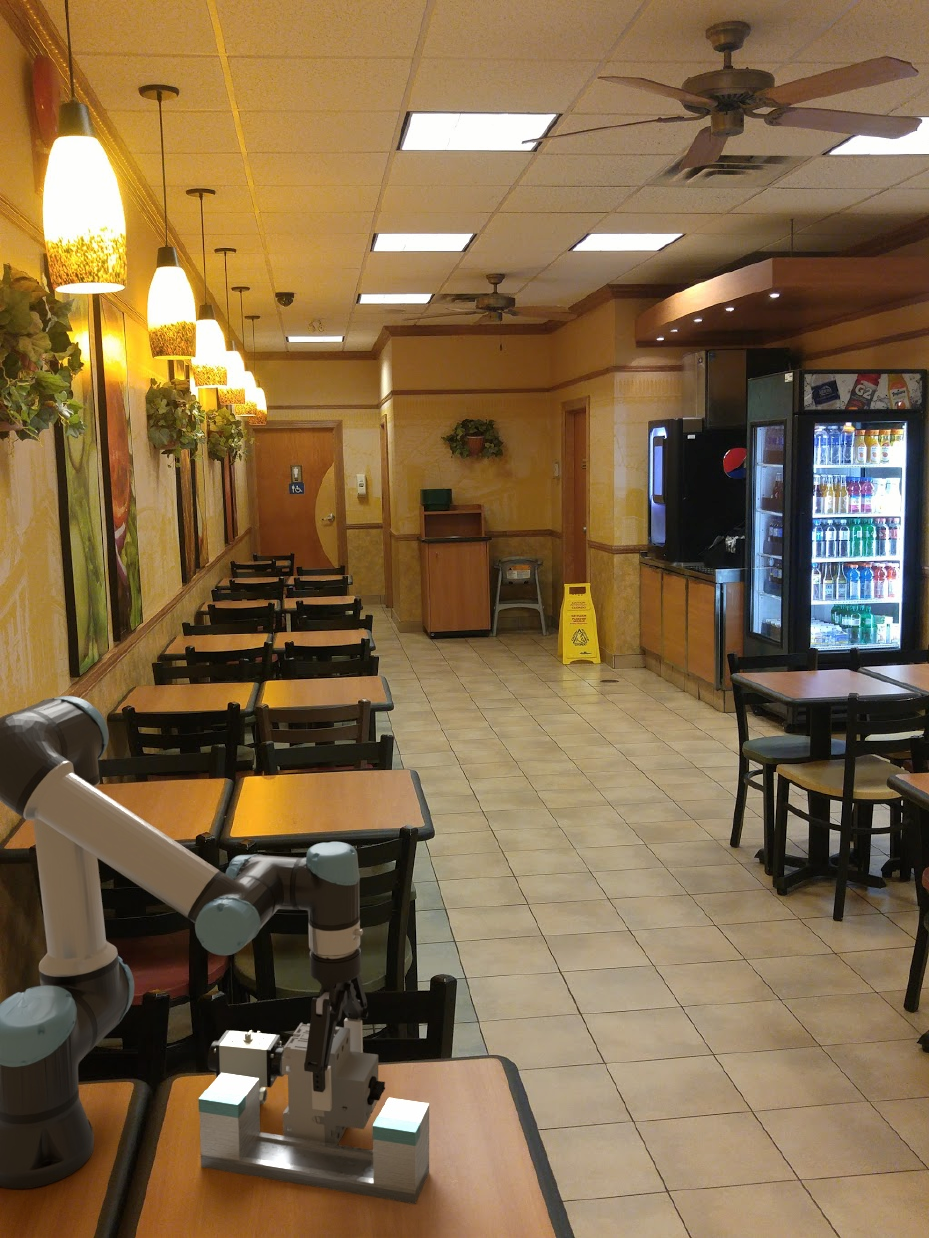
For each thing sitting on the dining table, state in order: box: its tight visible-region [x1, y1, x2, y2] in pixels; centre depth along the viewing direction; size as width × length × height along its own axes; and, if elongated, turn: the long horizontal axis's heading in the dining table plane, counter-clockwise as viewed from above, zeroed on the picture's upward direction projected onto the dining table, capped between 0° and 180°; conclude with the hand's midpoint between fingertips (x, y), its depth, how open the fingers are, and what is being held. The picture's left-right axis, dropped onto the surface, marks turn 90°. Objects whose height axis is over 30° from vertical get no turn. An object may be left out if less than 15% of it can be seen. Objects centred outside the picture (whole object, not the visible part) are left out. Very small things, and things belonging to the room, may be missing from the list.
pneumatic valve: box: [207, 1029, 285, 1105], centre depth 171 cm, size 6×12×12 cm, turn 81°
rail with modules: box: [198, 1073, 430, 1205], centre depth 154 cm, size 32×7×11 cm, turn 76°
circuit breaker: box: [282, 1022, 386, 1145], centre depth 163 cm, size 8×14×15 cm, turn 78°
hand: (338, 1083), depth 163 cm, fingers open, 13 cm apart
